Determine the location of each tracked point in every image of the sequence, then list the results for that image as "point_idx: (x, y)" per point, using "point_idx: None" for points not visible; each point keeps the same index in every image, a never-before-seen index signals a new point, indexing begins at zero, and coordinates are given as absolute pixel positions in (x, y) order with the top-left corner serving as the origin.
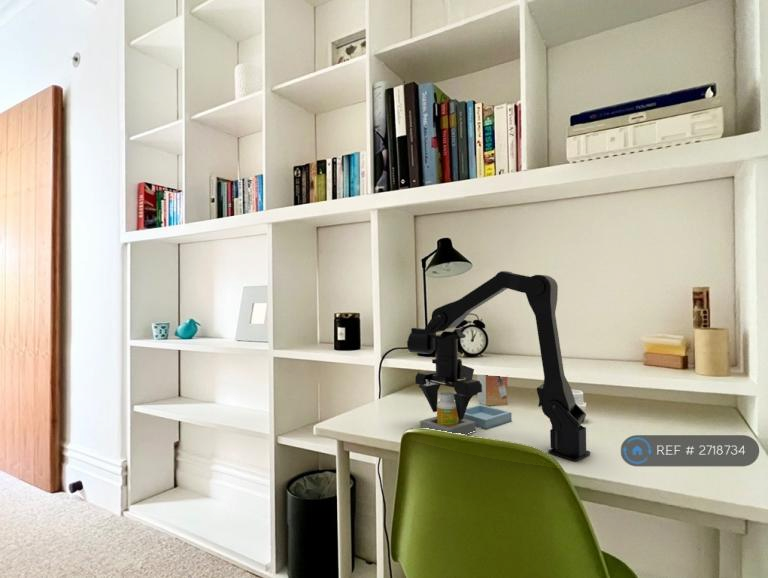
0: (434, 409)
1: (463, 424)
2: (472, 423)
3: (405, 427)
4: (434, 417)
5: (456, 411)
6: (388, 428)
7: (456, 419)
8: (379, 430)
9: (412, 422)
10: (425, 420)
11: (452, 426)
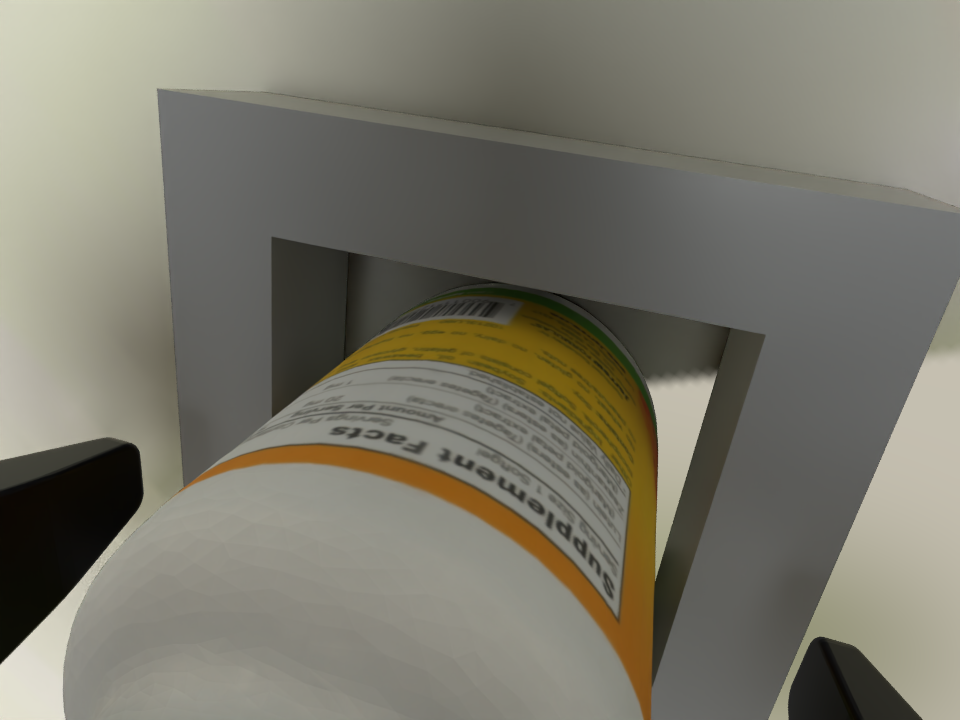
0: (106, 526)
1: (801, 498)
2: (936, 313)
3: (106, 548)
4: (192, 421)
5: (649, 679)
6: (52, 638)
7: (654, 556)
8: (58, 706)
9: (10, 374)
10: None
11: (685, 668)
